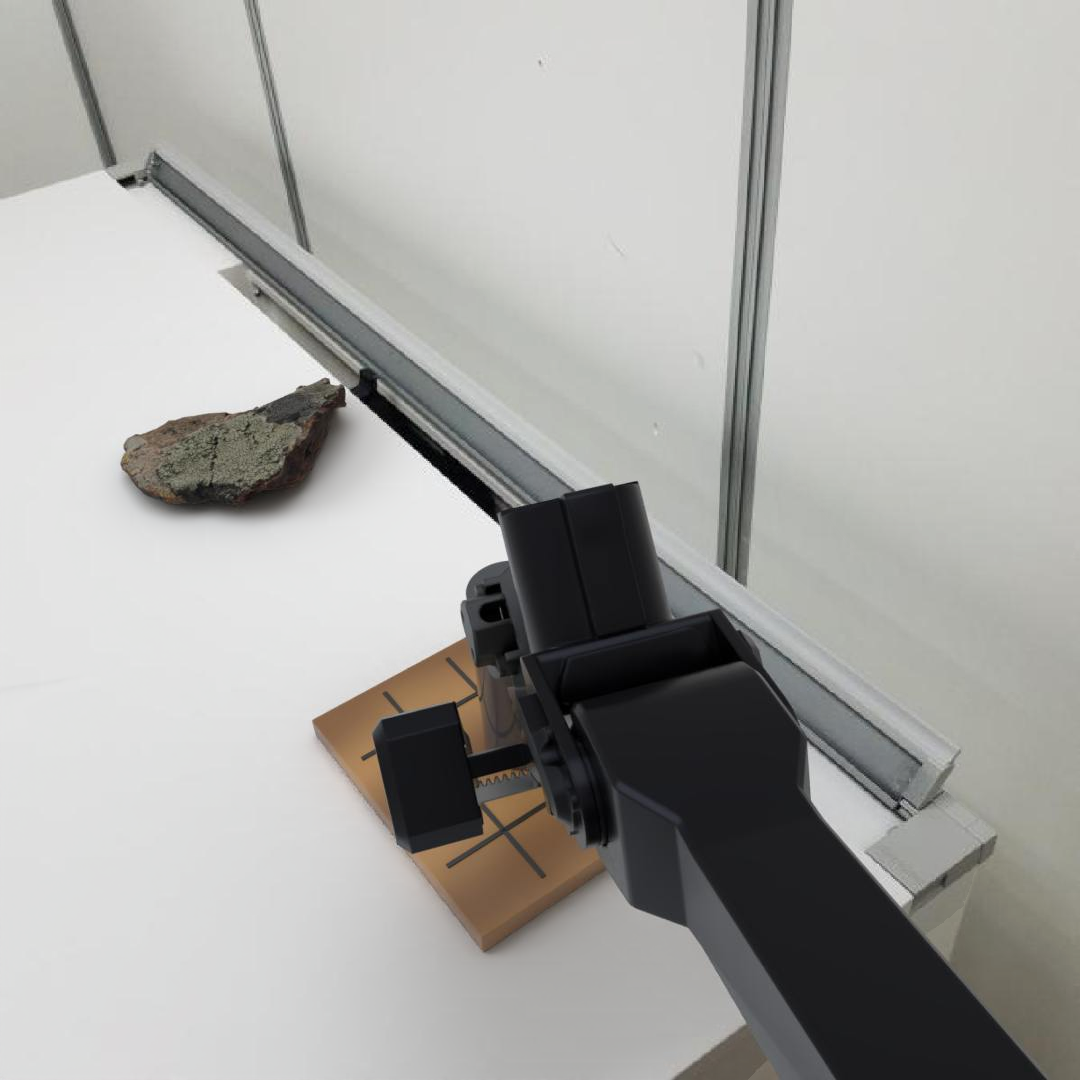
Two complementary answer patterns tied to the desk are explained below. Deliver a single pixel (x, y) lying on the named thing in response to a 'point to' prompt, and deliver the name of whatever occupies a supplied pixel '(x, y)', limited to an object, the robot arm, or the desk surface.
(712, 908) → the robot arm
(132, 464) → the rock
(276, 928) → the desk surface
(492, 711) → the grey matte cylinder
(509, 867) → the board
